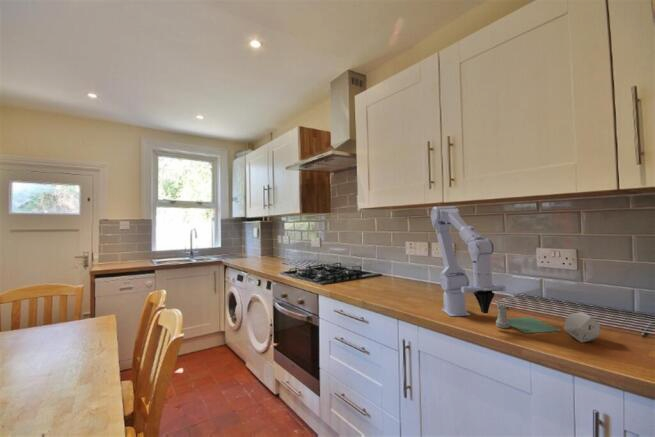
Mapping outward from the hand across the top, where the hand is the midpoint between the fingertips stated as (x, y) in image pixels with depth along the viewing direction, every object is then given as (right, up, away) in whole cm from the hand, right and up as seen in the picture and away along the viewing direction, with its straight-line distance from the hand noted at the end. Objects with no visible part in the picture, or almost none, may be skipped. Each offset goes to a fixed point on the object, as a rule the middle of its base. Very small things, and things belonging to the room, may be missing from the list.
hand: (484, 312), depth 106 cm
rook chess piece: (+6, -5, 0) cm, 8 cm away
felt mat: (+15, -4, 0) cm, 16 cm away
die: (+22, -4, -14) cm, 27 cm away
